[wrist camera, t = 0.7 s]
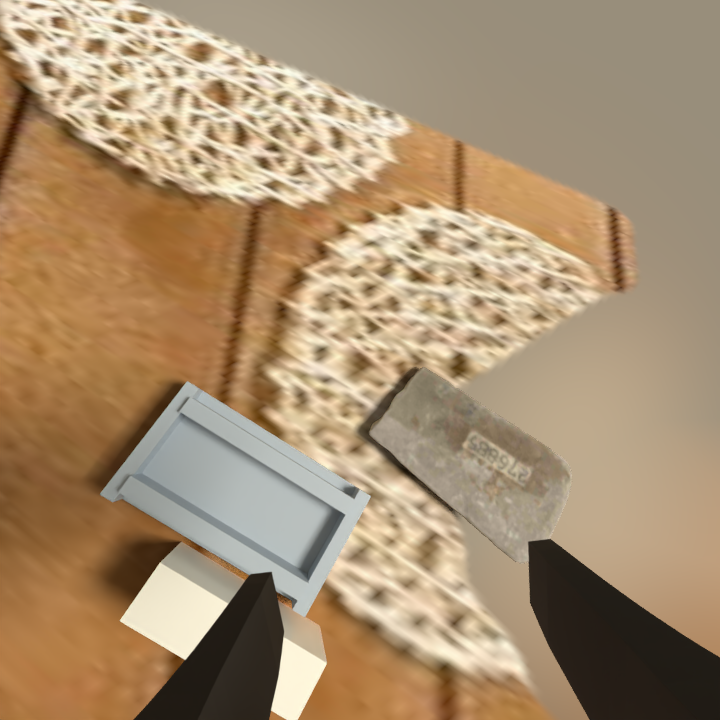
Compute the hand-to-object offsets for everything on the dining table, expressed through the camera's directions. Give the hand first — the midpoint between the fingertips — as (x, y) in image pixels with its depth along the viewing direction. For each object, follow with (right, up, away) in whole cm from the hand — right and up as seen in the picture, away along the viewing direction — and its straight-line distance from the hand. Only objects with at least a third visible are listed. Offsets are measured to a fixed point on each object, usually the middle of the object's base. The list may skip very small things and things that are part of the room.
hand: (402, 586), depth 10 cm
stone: (+8, -3, +23) cm, 25 cm away
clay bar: (-10, -12, +17) cm, 23 cm away
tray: (-10, -4, +18) cm, 21 cm away
